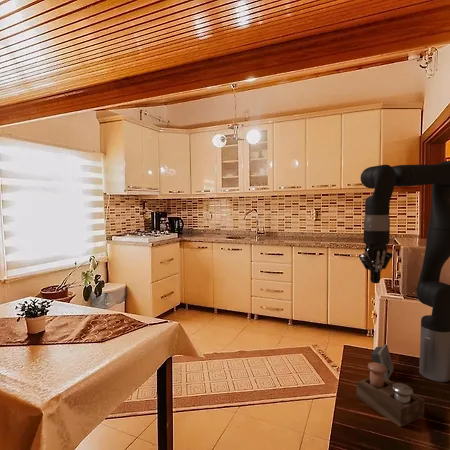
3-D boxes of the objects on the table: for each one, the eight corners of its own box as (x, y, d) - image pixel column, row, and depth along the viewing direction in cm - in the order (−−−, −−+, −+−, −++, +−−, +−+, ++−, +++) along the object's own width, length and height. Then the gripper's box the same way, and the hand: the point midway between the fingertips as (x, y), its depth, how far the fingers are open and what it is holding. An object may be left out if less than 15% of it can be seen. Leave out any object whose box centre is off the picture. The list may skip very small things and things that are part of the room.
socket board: (378, 389, 105) (379, 374, 105) (424, 416, 92) (424, 399, 91) (356, 397, 101) (356, 381, 101) (400, 427, 87) (400, 409, 87)
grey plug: (399, 406, 96) (400, 381, 95) (416, 416, 91) (417, 390, 91) (387, 411, 94) (388, 385, 93) (404, 421, 89) (404, 395, 88)
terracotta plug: (375, 384, 103) (375, 361, 103) (389, 392, 99) (390, 368, 98) (363, 388, 101) (364, 364, 101) (377, 397, 96) (378, 372, 96)
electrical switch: (388, 381, 110) (386, 354, 110) (372, 377, 113) (369, 351, 113) (394, 370, 117) (392, 344, 117) (378, 367, 121) (376, 342, 121)
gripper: (380, 227, 109) (379, 278, 110) (352, 229, 103) (351, 282, 104) (401, 229, 102) (399, 283, 103) (371, 230, 97) (370, 287, 98)
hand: (375, 282), depth 104 cm, fingers closed
